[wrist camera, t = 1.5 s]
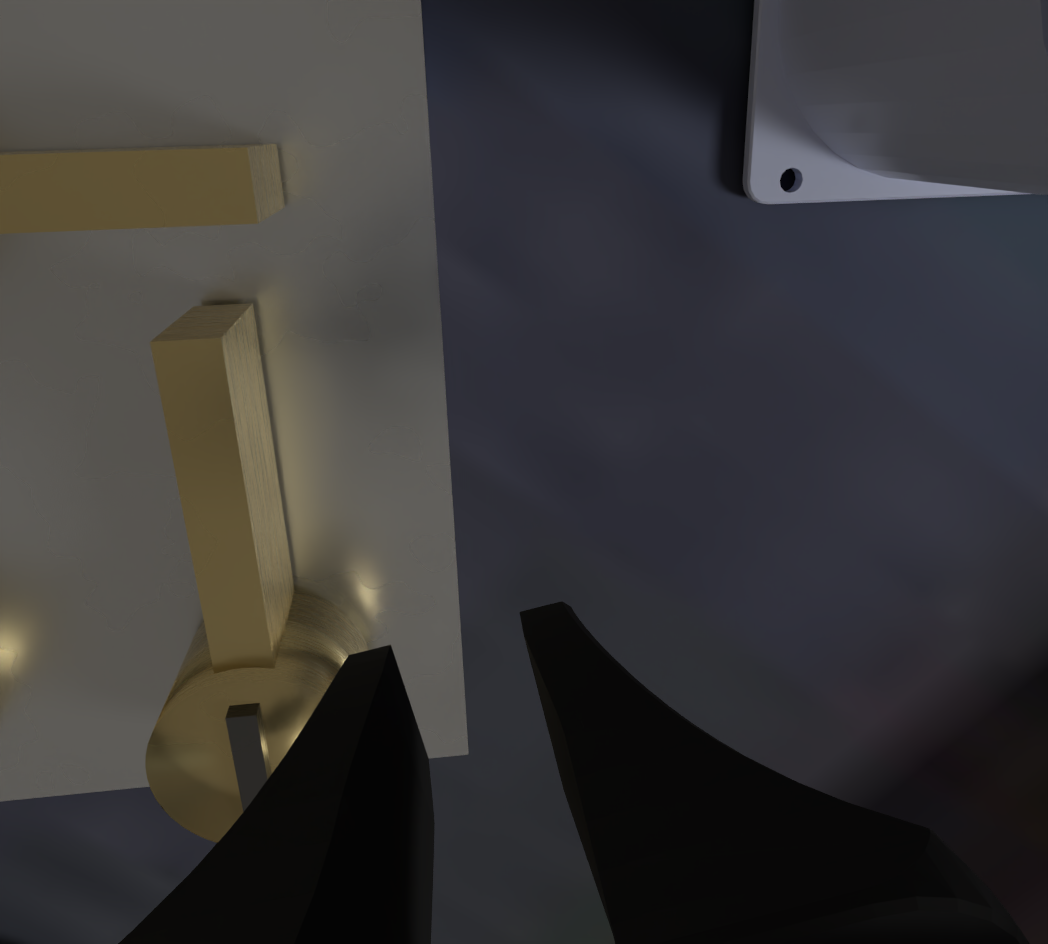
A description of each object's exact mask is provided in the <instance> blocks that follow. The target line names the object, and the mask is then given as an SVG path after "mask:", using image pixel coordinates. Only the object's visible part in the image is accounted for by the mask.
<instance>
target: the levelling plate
mask: <svg viewBox="0 0 1048 944" xmlns="http://www.w3.org/2000/svg"><path fill="white" fill-rule="evenodd" d="M248 144H277V150H278V158H279V166H280V174H281V182H282V190H283V197H284V205H285V207H284V208H283V209H281V210H279V211H278V212H276V213H275V214H273V215H271V216H270V217H268V218H266V219H265V220H263V221H262V222H260V223H258V224H239V225H213V226H188V227H162V228H137V229H111V230H86V231H60V232H34V233H9V234H0V801H9V800H19V799H29V798H39V797H49V796H59V795H69V794H79V793H89V792H99V791H109V790H119V789H129V788H139V787H149V786H150V785H149V782H148V779H147V774H146V768H145V759H146V751H147V745H148V742H149V740H150V737H151V734H152V732H153V730H154V727H155V725H156V723H157V720H158V718H159V716H160V713H161V711H162V709H163V707H164V704H165V702H166V700H167V697H168V695H169V693H170V690H171V688H172V686H173V683H174V681H175V679H176V677H177V674H178V672H179V670H180V667H181V665H182V663H183V660H184V658H185V656H186V654H187V651H188V649H189V647H190V644H191V642H192V640H193V637H194V635H195V634H196V632H197V630H198V628H199V627H200V625H201V624H202V623H203V622H204V619H203V614H202V609H201V603H200V598H199V593H198V588H197V583H196V578H195V572H194V567H193V562H192V557H191V552H190V547H189V541H188V536H187V531H186V526H185V521H184V516H183V510H182V505H181V500H180V495H179V490H178V485H177V479H176V474H175V469H174V464H173V459H172V454H171V448H170V443H169V438H168V433H167V428H166V423H165V417H164V412H163V407H162V402H161V397H160V392H159V386H158V381H157V376H156V371H155V366H154V361H153V356H152V350H151V345H150V341H152V340H153V339H154V338H155V337H156V336H158V335H159V334H160V333H161V332H163V331H164V330H165V329H166V328H168V327H169V326H170V325H171V324H172V323H174V322H175V321H176V320H177V319H179V318H180V317H181V316H182V315H184V314H185V313H186V312H187V311H188V310H190V309H191V308H192V307H193V306H209V305H230V304H251V303H253V308H254V315H255V322H256V329H257V336H258V343H259V350H260V357H261V363H262V370H263V377H264V384H265V391H266V398H267V405H268V412H269V418H270V425H271V432H272V439H273V446H274V453H275V460H276V467H277V473H278V480H279V487H280V494H281V501H282V508H283V515H284V522H285V529H286V535H287V542H288V549H289V556H290V563H291V570H292V577H293V584H294V590H295V591H297V592H302V593H306V594H310V595H313V596H316V597H318V598H320V599H323V600H325V601H327V602H329V603H330V604H332V605H334V606H335V607H337V608H338V609H340V610H341V611H342V612H343V613H345V614H346V615H347V616H348V617H349V618H350V619H351V620H352V621H353V622H354V623H355V625H356V626H357V627H358V629H359V630H360V632H361V634H362V635H363V637H364V639H365V641H366V644H367V647H368V650H371V649H375V648H379V647H383V646H387V645H391V647H392V650H393V653H394V656H395V659H396V662H397V665H398V668H399V671H400V674H401V677H402V680H403V683H404V686H405V689H406V692H407V695H408V698H409V701H410V704H411V707H412V710H413V713H414V716H415V719H416V722H417V725H418V728H419V731H420V734H421V737H422V740H423V743H424V746H425V749H426V752H427V755H428V758H437V757H447V756H457V755H467V754H468V738H467V722H466V706H465V691H464V675H463V659H462V643H461V628H460V612H459V596H458V580H457V564H456V549H455V533H454V517H453V501H452V486H451V470H450V454H449V438H448V423H447V407H446V391H445V375H444V359H443V344H442V328H441V312H440V296H439V281H438V265H437V249H436V233H435V218H434V202H433V186H432V170H431V154H430V139H429V123H428V107H427V91H426V76H425V60H424V44H423V28H422V12H421V0H0V152H16V151H49V150H82V149H115V148H148V147H181V146H215V145H248Z"/></svg>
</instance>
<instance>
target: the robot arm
mask: <svg viewBox="0 0 1048 944" xmlns="http://www.w3.org/2000/svg"><path fill="white" fill-rule="evenodd" d="M789 168H791V169H792V170H793V171H794V172H795V178H796V179H795V182H794V185H793V186H792V187H791V188H790V189H789V190H787V191H784V190H783V189H782V188H781V186H780V178H781V175H782V173H783V172H784V171H785V170H786V169H789ZM743 189H744V191H745V193H746V195H747V197H748V198H750V199H751V200H752V201H754V202H758V203H763V204H787V203H812V202H838V201H863V200H889V199H914V198H940V197H966V196H991V195H1017V194H1041V195H1048V0H754V14H753V29H752V44H751V60H750V75H749V90H748V105H747V121H746V136H745V151H744V167H743ZM520 616H521V622H522V627H523V633H524V637H525V641H526V645H527V649H528V653H529V657H530V661H531V665H532V668H533V672H534V676H535V680H536V684H537V688H538V692H539V696H540V700H541V703H542V707H543V711H544V715H545V719H546V723H547V727H548V731H549V734H550V738H551V742H552V746H553V750H554V754H555V758H556V762H557V766H558V769H559V773H560V777H561V781H562V785H563V789H564V792H565V795H566V798H567V801H568V804H569V807H570V810H571V813H572V816H573V818H574V821H575V824H576V827H577V830H578V833H579V836H580V839H581V842H582V845H583V848H584V851H585V854H586V857H587V859H588V862H589V865H590V868H591V871H592V874H593V877H594V880H595V883H596V886H597V889H598V892H599V895H600V898H601V900H602V903H603V906H604V909H605V912H606V915H607V918H608V921H609V924H610V927H611V930H612V933H613V936H614V940H615V944H1029V942H1028V941H1027V939H1026V938H1025V936H1024V935H1023V933H1022V932H1021V930H1020V929H1019V927H1018V926H1017V924H1016V923H1015V921H1014V920H1013V918H1012V917H1011V916H1010V914H1009V913H1008V911H1007V910H1006V909H1005V908H1004V906H1003V905H1002V904H1001V903H1000V901H999V900H998V899H997V898H996V896H995V895H994V894H993V893H992V892H991V890H990V889H989V888H988V887H987V886H986V885H985V884H984V883H983V882H982V881H981V880H980V879H979V877H978V876H977V875H976V874H975V873H974V872H973V871H972V870H971V869H970V868H969V867H968V866H967V865H966V864H965V863H964V862H963V861H962V860H961V859H960V858H959V857H958V856H957V855H956V854H955V853H954V851H953V850H952V849H951V848H950V847H949V846H948V845H947V844H946V843H945V842H944V841H943V840H942V839H941V838H940V837H939V836H938V835H937V834H936V833H935V832H934V831H932V830H931V829H929V828H926V827H923V826H919V825H916V824H913V823H910V822H907V821H904V820H901V819H898V818H894V817H891V816H888V815H885V814H882V813H879V812H876V811H872V810H869V809H866V808H863V807H860V806H857V805H854V804H851V803H848V802H845V801H842V800H840V799H837V798H835V797H832V796H830V795H828V794H825V793H823V792H820V791H818V790H815V789H813V788H810V787H808V786H805V785H803V784H800V783H798V782H796V781H794V780H792V779H790V778H788V777H786V776H784V775H782V774H780V773H778V772H776V771H774V770H772V769H770V768H768V767H766V766H764V765H762V764H760V763H758V762H756V761H754V760H752V759H750V758H748V757H746V756H744V755H742V754H740V753H739V752H737V751H735V750H734V749H732V748H730V747H729V746H727V745H725V744H724V743H722V742H720V741H719V740H717V739H715V738H714V737H712V736H711V735H709V734H708V733H706V732H705V731H703V730H702V729H700V728H699V727H697V726H696V725H694V724H693V723H691V722H690V721H688V720H687V719H686V718H684V717H683V716H681V715H680V714H679V713H677V712H676V711H675V710H673V709H672V708H671V707H669V706H668V705H667V704H666V703H664V702H663V701H662V700H661V699H659V698H658V697H657V696H656V695H654V694H653V693H652V692H651V691H649V690H648V689H647V688H646V687H645V686H644V685H642V684H641V683H640V682H639V681H638V680H637V679H635V678H634V677H633V676H632V675H631V674H630V673H629V672H628V671H627V670H626V669H625V668H624V667H623V666H622V665H621V664H619V663H618V662H617V661H616V660H615V659H614V658H613V657H612V656H611V655H610V654H609V653H608V652H607V651H606V650H605V649H604V648H603V647H602V646H601V645H600V643H599V642H598V641H597V640H596V639H595V638H594V637H593V636H592V635H591V633H590V632H589V631H588V630H587V629H586V627H585V626H584V625H583V624H582V622H581V621H580V620H579V618H578V617H577V616H576V614H575V613H574V611H573V610H572V608H571V606H569V605H567V604H565V603H564V602H558V603H554V604H550V605H546V606H542V607H538V608H534V609H530V610H526V611H522V612H520ZM433 859H434V812H433V800H432V789H431V779H430V769H429V759H428V755H427V752H426V749H425V746H424V743H423V740H422V737H421V734H420V731H419V728H418V725H417V722H416V719H415V716H414V713H413V710H412V707H411V704H410V701H409V698H408V695H407V692H406V689H405V686H404V683H403V680H402V677H401V674H400V671H399V668H398V665H397V662H396V659H395V656H394V653H393V650H392V647H391V645H387V646H383V647H379V648H375V649H371V650H367V651H363V652H359V653H355V654H351V655H348V657H347V659H346V660H345V662H344V663H343V665H342V666H341V668H340V669H339V671H338V672H337V674H336V676H335V677H334V679H333V680H332V682H331V684H330V685H329V687H328V689H327V690H326V692H325V693H324V695H323V697H322V698H321V700H320V702H319V703H318V705H317V707H316V708H315V710H314V711H313V713H312V715H311V716H310V718H309V719H308V721H307V723H306V724H305V726H304V727H303V729H302V730H301V732H300V733H299V735H298V736H297V738H296V739H295V741H294V743H293V744H292V746H291V747H290V749H289V750H288V752H287V753H286V755H285V756H284V758H283V759H282V761H281V762H280V763H279V765H278V766H277V767H276V769H275V770H274V772H273V773H272V774H271V776H270V777H269V778H268V780H267V781H266V783H265V784H264V785H263V787H262V788H261V789H260V791H259V792H258V794H257V795H256V796H255V798H254V799H253V800H252V802H251V803H250V804H249V806H248V807H247V808H246V809H245V811H244V812H243V813H242V815H241V816H240V817H239V818H238V819H237V821H236V822H235V823H234V824H233V825H232V827H231V828H230V829H229V830H228V832H227V833H226V834H225V835H224V836H223V837H222V838H221V840H220V841H219V842H218V843H217V844H216V845H215V846H214V848H213V849H212V850H211V851H210V852H209V853H208V854H207V855H206V857H205V858H204V859H203V860H202V861H201V862H200V863H199V864H198V866H197V867H196V868H195V869H194V870H193V871H192V872H191V873H190V874H189V875H188V876H187V877H186V878H185V879H184V880H183V881H182V882H181V883H180V884H179V885H178V886H177V887H176V888H175V889H174V890H173V891H172V892H171V893H170V894H169V895H168V896H167V897H166V898H165V899H164V900H163V901H162V902H161V903H160V904H159V905H158V906H157V907H156V908H155V909H154V910H153V911H152V912H151V913H150V914H149V915H148V916H147V917H146V918H145V919H144V920H143V921H142V922H141V923H140V924H139V925H138V926H137V927H136V928H135V929H134V930H133V931H132V932H131V933H129V934H128V935H127V936H126V937H125V938H124V939H123V940H122V941H121V942H120V943H118V944H431V920H432V891H433Z"/></svg>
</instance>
